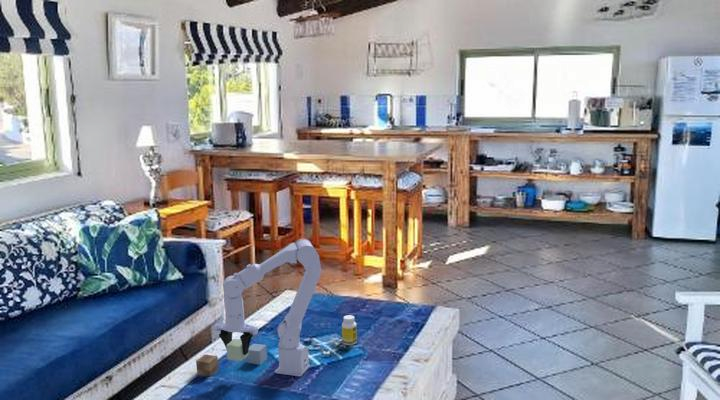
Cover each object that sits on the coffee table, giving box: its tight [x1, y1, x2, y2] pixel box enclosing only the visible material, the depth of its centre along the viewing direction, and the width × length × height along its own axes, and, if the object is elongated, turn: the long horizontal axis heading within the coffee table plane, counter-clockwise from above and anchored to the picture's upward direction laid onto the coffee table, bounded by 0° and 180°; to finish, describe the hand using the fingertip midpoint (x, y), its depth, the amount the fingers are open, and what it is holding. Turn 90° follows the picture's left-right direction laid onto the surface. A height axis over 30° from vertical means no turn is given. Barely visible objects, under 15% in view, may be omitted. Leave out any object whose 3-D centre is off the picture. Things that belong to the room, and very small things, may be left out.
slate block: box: [246, 343, 268, 366], centre depth 213 cm, size 5×5×5 cm
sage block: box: [226, 338, 249, 362], centre depth 200 cm, size 5×5×5 cm
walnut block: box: [195, 354, 219, 378], centre depth 205 cm, size 5×5×5 cm
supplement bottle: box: [341, 314, 358, 346], centre depth 224 cm, size 5×5×10 cm
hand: (238, 352), depth 200 cm, fingers closed on sage block, 5 cm apart
